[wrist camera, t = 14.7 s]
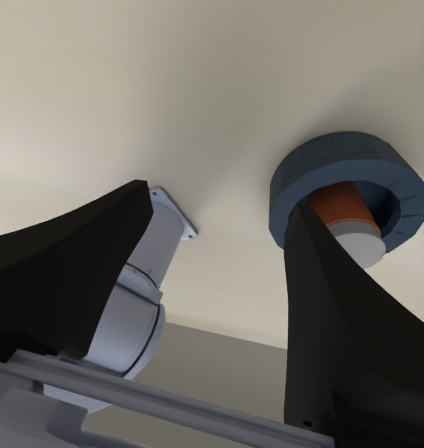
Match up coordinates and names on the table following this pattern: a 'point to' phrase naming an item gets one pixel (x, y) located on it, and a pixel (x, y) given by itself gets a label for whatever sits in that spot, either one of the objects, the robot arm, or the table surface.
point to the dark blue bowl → (351, 171)
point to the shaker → (349, 221)
